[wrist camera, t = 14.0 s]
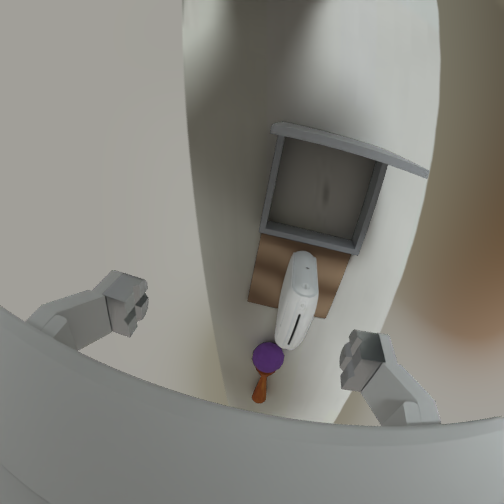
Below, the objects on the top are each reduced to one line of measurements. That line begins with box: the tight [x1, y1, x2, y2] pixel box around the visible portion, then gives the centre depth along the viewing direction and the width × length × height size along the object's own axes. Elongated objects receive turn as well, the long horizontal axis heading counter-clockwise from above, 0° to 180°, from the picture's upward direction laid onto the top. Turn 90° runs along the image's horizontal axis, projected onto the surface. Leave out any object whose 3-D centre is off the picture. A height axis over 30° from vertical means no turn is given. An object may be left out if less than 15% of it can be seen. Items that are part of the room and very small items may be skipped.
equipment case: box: [259, 121, 429, 256], centre depth 31 cm, size 15×15×15 cm
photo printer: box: [275, 251, 319, 350], centre depth 39 cm, size 10×4×12 cm, turn 170°
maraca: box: [252, 342, 284, 403], centre depth 55 cm, size 6×6×20 cm
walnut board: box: [247, 233, 351, 318], centre depth 45 cm, size 13×14×1 cm
